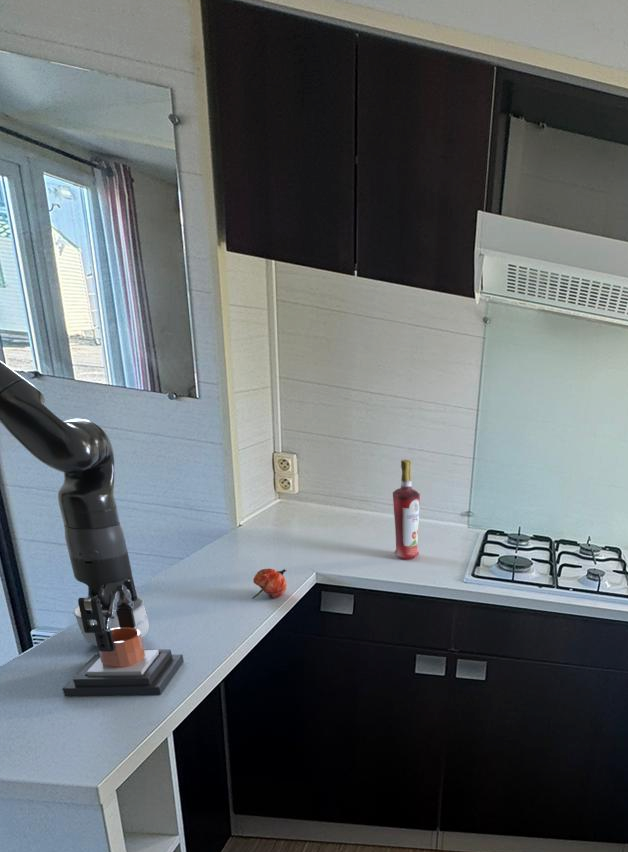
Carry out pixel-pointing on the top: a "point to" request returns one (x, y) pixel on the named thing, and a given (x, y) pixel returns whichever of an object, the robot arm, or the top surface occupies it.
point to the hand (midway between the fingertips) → (118, 639)
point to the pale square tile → (136, 669)
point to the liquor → (406, 515)
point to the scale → (126, 679)
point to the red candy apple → (271, 582)
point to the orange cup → (124, 648)
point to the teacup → (138, 614)
